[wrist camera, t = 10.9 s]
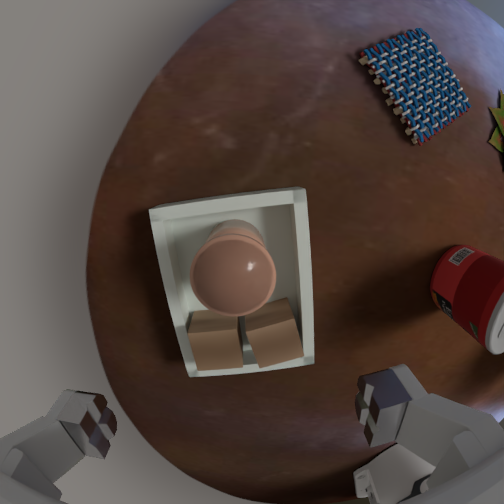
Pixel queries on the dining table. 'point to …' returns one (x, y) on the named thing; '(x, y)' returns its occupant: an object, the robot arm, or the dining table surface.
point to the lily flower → (503, 120)
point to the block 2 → (273, 333)
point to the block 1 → (215, 341)
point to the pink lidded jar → (233, 270)
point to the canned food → (472, 293)
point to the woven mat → (417, 83)
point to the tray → (276, 242)
